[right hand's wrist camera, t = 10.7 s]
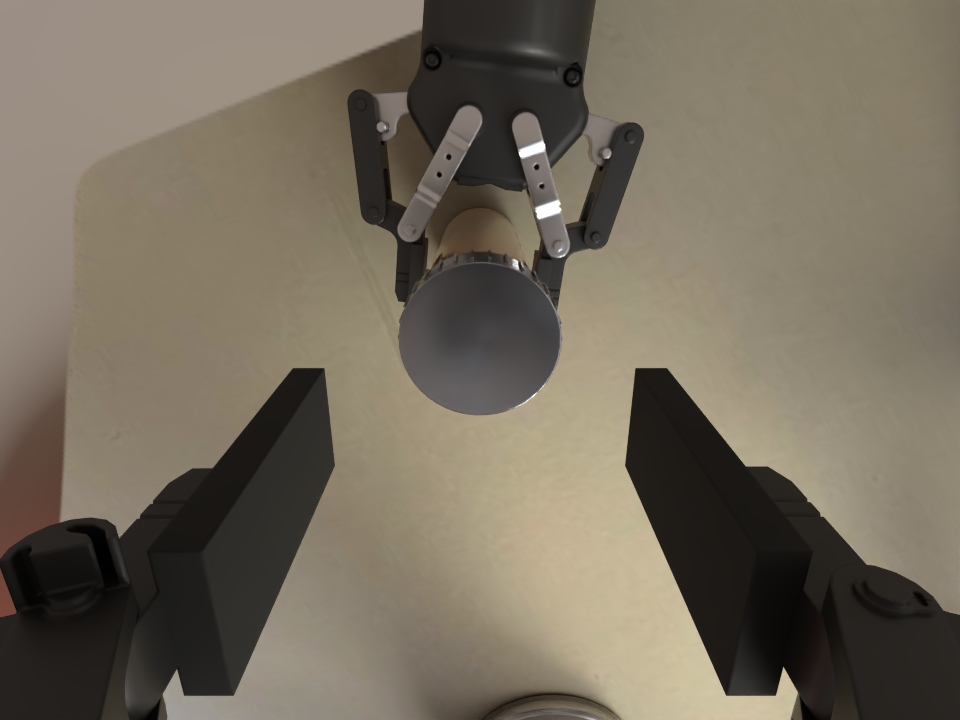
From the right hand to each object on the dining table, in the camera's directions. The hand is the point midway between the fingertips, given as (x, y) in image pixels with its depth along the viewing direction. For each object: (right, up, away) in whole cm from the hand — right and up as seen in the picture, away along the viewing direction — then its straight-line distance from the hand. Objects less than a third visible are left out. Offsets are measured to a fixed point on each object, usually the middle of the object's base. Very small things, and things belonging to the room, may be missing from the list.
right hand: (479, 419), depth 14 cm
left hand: (0, +4, +17) cm, 17 cm away
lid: (0, +2, +6) cm, 6 cm away
